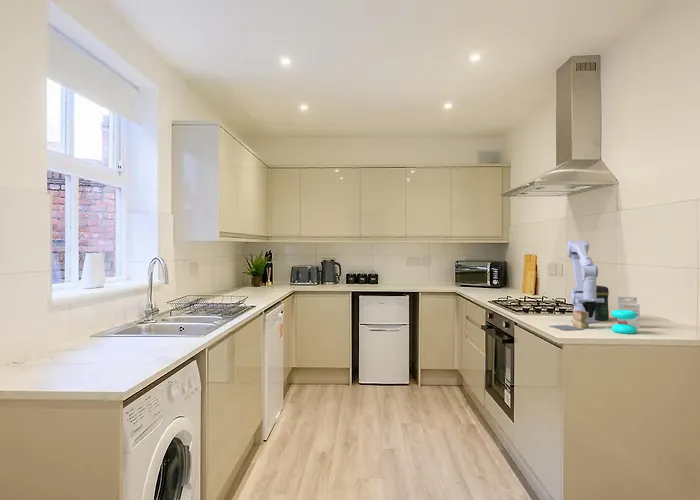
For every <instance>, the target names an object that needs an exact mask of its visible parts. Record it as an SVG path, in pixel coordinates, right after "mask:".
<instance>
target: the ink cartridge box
mask: <svg viewBox="0 0 700 500" xmlns="http://www.w3.org/2000/svg"><path fill="white" fill-rule="evenodd" d="M617 298H618V300H617V310H629V311H634V312H636V313H637V316H636V318H634V319H629V320H627V319H618V318H617V324H629V325H632V326H634V327H636V329H640V324H641V323H640V316H641V315H640V312H641V309H640V305H641V304H639V303H638V302H637V301H638V300H637V298H638V297H637V296H636V297H633V296H618V297H617Z"/></svg>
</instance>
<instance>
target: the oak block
mask: <svg viewBox="0 0 700 500" xmlns="http://www.w3.org/2000/svg"><path fill="white" fill-rule="evenodd" d="M572 320H573V322H572V326H573V327H577V328H581V329H588V328H589V324H590V323H589V312H585V311H574V310H572Z"/></svg>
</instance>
